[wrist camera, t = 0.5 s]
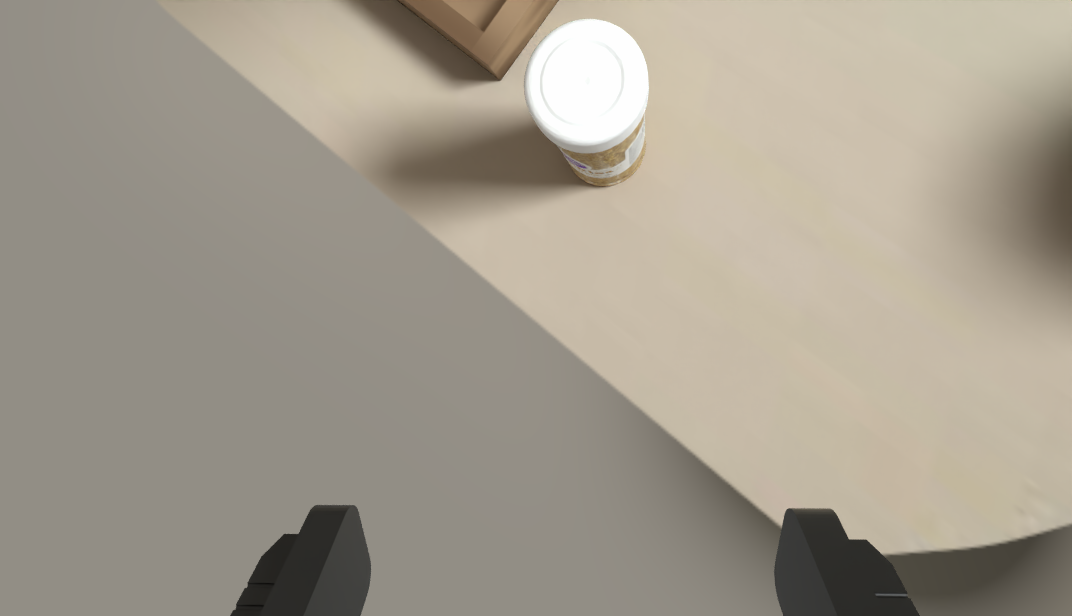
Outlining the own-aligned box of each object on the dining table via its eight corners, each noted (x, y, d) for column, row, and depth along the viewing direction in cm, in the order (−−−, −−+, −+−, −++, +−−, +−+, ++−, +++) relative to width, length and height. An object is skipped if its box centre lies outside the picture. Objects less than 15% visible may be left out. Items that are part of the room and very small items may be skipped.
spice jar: (555, 172, 36) (503, 121, 23) (583, 95, 36) (547, -3, 22) (629, 199, 36) (620, 163, 22) (659, 121, 35) (668, 37, 22)
